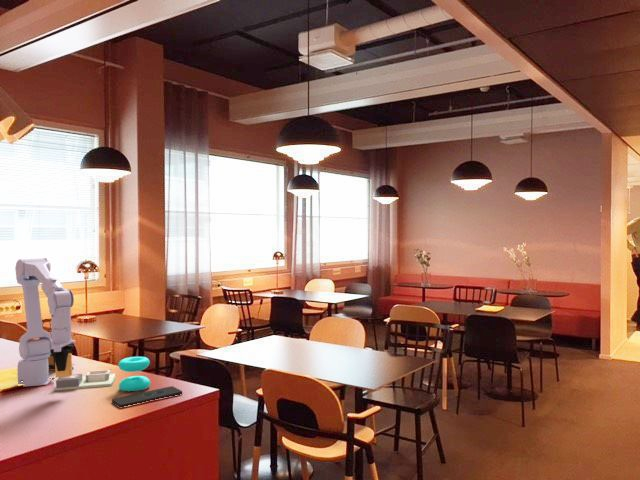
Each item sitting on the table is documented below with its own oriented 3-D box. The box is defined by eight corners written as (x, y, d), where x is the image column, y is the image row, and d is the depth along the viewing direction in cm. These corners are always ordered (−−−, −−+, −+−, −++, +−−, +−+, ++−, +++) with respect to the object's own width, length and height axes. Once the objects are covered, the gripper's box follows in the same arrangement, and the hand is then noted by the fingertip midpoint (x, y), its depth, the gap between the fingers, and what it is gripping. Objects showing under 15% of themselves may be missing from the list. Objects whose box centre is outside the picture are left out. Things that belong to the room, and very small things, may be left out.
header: (86, 381, 190) (85, 375, 190) (88, 377, 196) (88, 371, 196) (108, 379, 192) (108, 373, 192) (110, 375, 198) (110, 369, 198)
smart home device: (183, 390, 175) (120, 404, 162) (183, 396, 175) (120, 410, 162) (171, 385, 181) (111, 398, 168) (172, 390, 181) (111, 403, 168)
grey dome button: (56, 388, 182) (56, 380, 182) (60, 382, 189) (60, 375, 189) (78, 386, 184) (78, 378, 184) (82, 380, 191) (82, 373, 191)
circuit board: (54, 390, 182) (54, 388, 182) (63, 379, 196) (63, 377, 196) (111, 385, 187) (111, 383, 187) (116, 375, 200) (116, 373, 200)
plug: (55, 377, 174) (54, 355, 174) (57, 375, 177) (56, 353, 177) (71, 376, 176) (70, 354, 175) (72, 373, 179) (72, 352, 178)
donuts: (130, 364, 176) (112, 360, 182) (131, 394, 176) (112, 390, 182) (155, 357, 184) (137, 354, 190) (156, 387, 184) (137, 382, 190)
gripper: (70, 330, 170) (71, 373, 170) (78, 323, 184) (79, 363, 184) (45, 332, 168) (47, 375, 169) (56, 324, 182) (57, 364, 183)
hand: (62, 369), depth 176 cm, fingers closed on plug, 3 cm apart
